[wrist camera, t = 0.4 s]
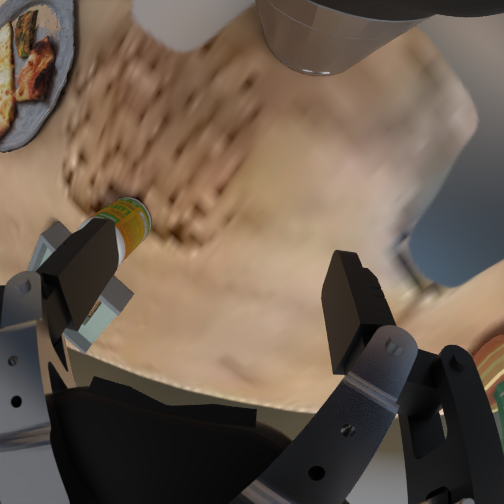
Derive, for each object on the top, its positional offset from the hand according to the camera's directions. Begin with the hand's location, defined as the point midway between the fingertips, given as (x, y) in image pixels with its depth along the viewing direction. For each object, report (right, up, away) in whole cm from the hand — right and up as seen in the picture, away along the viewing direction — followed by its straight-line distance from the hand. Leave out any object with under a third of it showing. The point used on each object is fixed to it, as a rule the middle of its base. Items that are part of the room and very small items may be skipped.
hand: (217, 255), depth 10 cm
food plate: (-29, +25, +12) cm, 40 cm away
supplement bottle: (-12, +4, +21) cm, 24 cm away
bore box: (-23, -5, +26) cm, 35 cm away
